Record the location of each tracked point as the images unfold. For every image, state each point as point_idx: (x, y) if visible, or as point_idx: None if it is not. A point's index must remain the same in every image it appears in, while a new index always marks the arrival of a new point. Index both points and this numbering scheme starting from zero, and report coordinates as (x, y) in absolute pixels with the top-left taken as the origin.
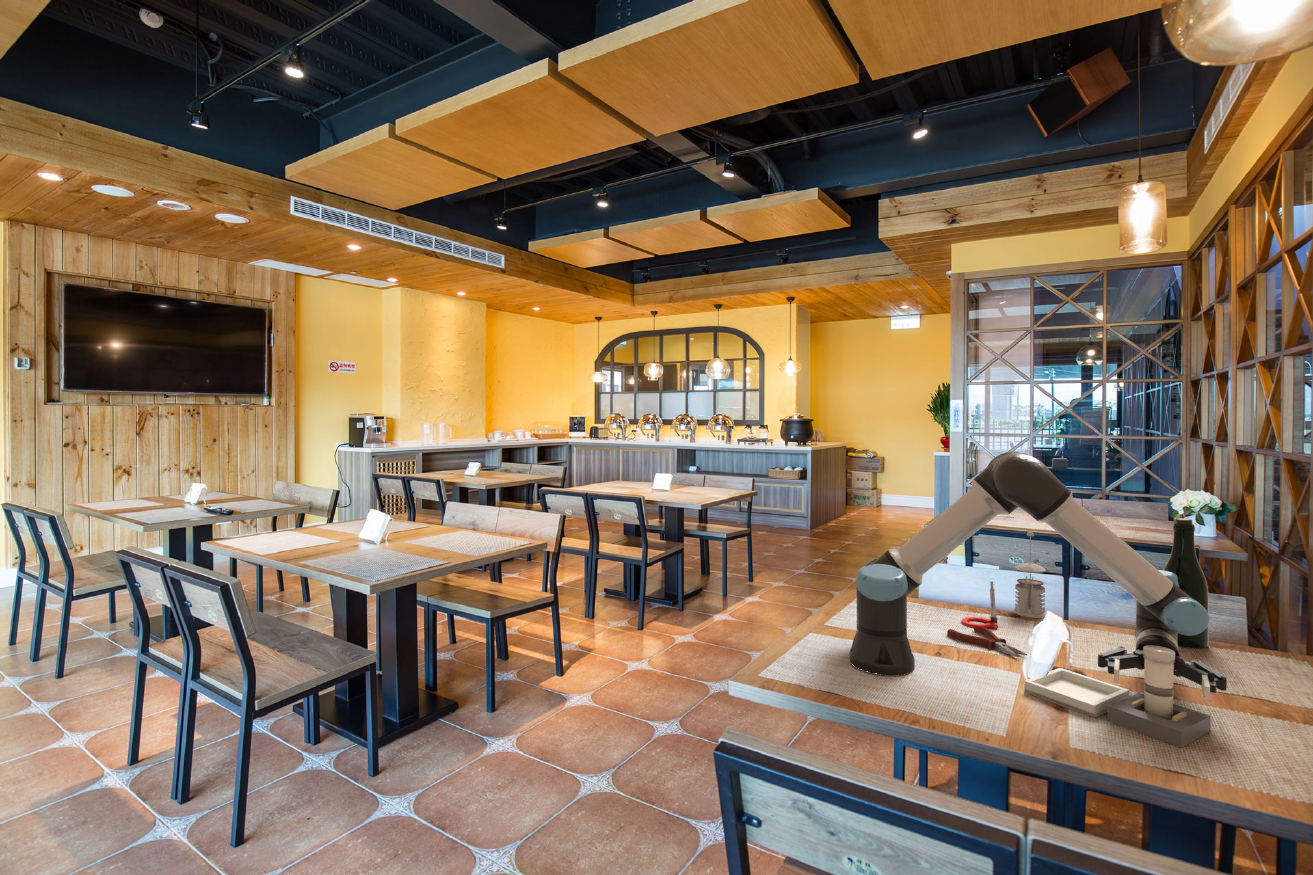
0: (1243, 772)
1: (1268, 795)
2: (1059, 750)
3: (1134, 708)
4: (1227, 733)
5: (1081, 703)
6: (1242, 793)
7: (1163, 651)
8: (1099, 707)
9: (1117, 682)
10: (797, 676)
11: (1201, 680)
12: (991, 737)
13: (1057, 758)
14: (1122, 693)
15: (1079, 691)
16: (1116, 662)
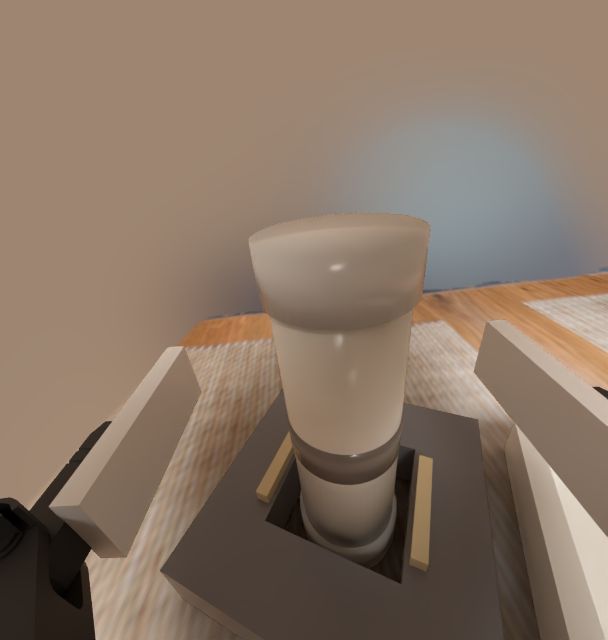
0: (212, 379)
1: (209, 343)
2: (445, 308)
3: (414, 456)
4: (122, 623)
5: None
6: (239, 332)
7: (311, 228)
8: (518, 461)
9: (478, 369)
10: None
11: (69, 611)
12: (527, 293)
13: (434, 296)
14: None
15: None
16: (595, 400)
